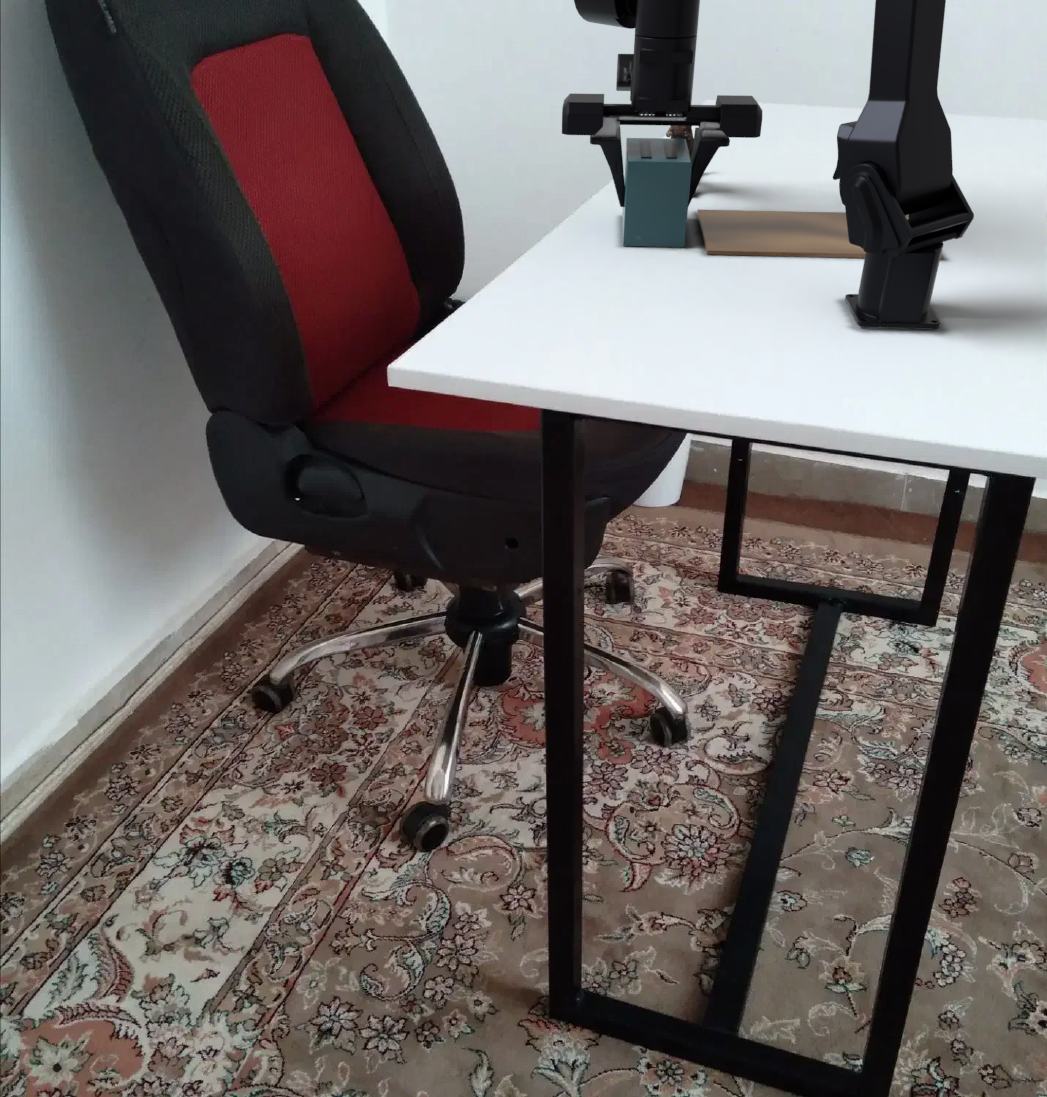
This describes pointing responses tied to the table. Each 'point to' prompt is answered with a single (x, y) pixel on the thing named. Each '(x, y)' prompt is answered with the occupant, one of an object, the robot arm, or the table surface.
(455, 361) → the table surface
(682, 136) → the dinosaur model
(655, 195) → the toaster
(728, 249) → the mat
